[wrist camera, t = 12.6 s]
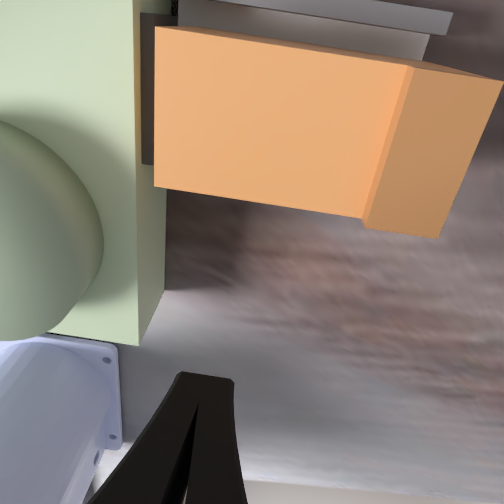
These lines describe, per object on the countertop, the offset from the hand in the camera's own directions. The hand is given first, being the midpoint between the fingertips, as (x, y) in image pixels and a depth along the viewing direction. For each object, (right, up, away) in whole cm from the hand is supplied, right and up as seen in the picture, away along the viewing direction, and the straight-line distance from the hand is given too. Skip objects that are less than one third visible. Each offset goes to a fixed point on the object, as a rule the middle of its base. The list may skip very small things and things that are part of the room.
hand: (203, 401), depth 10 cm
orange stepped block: (+3, +9, +5) cm, 11 cm away
